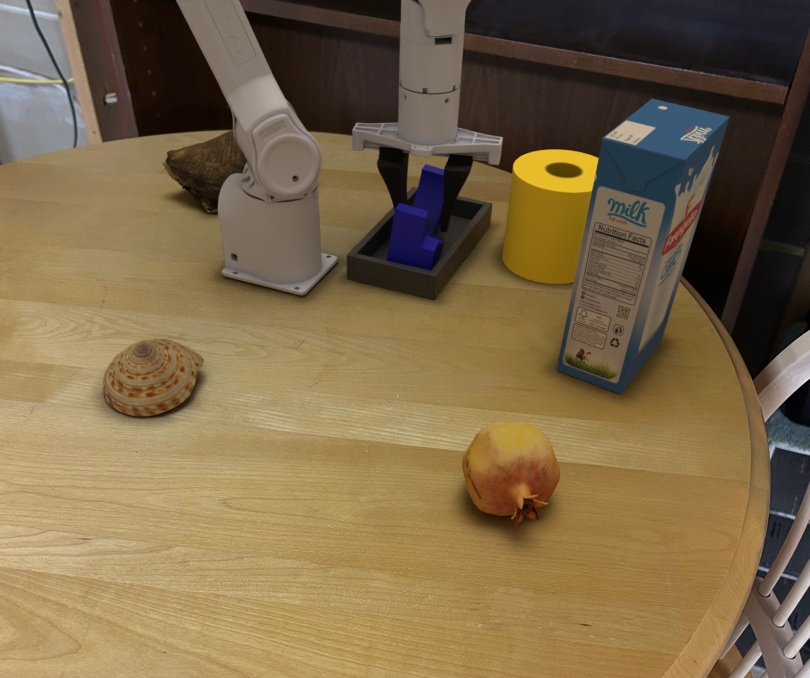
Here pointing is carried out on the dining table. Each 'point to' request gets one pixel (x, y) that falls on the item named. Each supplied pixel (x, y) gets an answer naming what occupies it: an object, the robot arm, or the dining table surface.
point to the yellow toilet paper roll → (548, 214)
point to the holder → (374, 268)
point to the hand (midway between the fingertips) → (423, 225)
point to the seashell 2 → (206, 168)
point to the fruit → (510, 469)
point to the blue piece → (419, 224)
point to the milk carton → (637, 239)
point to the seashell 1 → (151, 377)
